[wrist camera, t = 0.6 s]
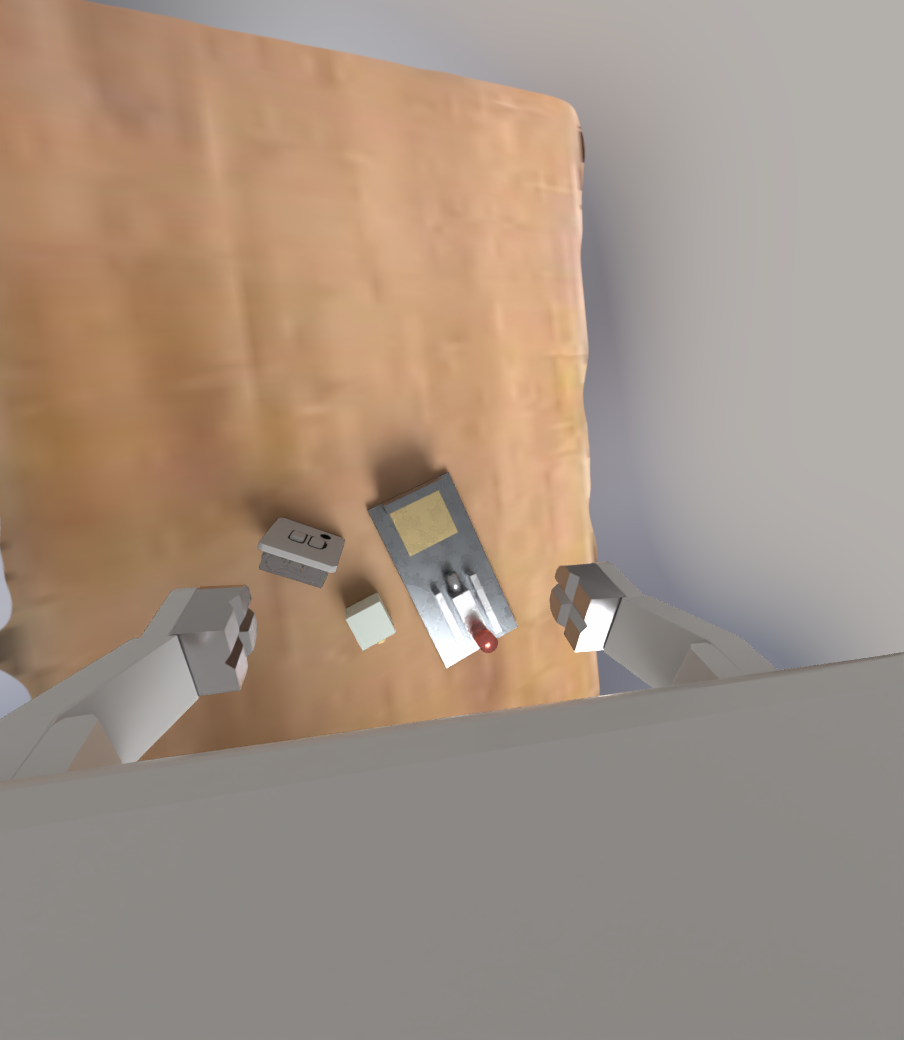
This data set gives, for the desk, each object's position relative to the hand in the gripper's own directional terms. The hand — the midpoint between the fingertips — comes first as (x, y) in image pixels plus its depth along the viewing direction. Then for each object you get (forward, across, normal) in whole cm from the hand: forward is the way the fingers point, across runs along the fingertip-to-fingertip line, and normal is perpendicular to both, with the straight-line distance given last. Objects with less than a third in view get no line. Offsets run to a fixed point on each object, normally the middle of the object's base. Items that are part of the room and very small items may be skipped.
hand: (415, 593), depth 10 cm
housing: (+37, -1, -34) cm, 50 cm away
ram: (+36, +13, -33) cm, 50 cm away
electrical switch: (+41, -10, -24) cm, 48 cm away
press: (+39, +10, -28) cm, 50 cm away
